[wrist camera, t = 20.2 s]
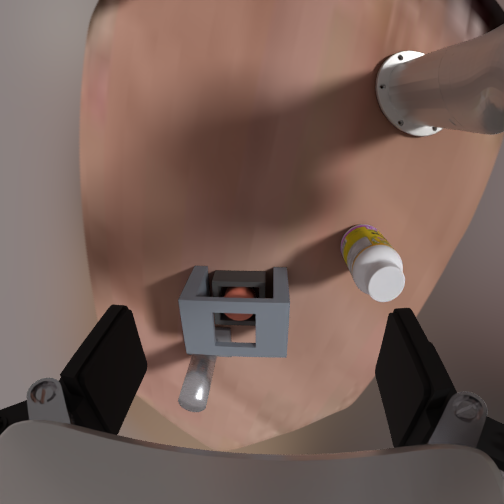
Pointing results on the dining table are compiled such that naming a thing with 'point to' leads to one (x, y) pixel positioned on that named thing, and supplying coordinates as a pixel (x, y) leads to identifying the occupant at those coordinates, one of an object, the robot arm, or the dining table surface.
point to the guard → (263, 309)
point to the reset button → (239, 293)
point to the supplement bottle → (373, 263)
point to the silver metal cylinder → (197, 382)
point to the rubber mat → (222, 336)
